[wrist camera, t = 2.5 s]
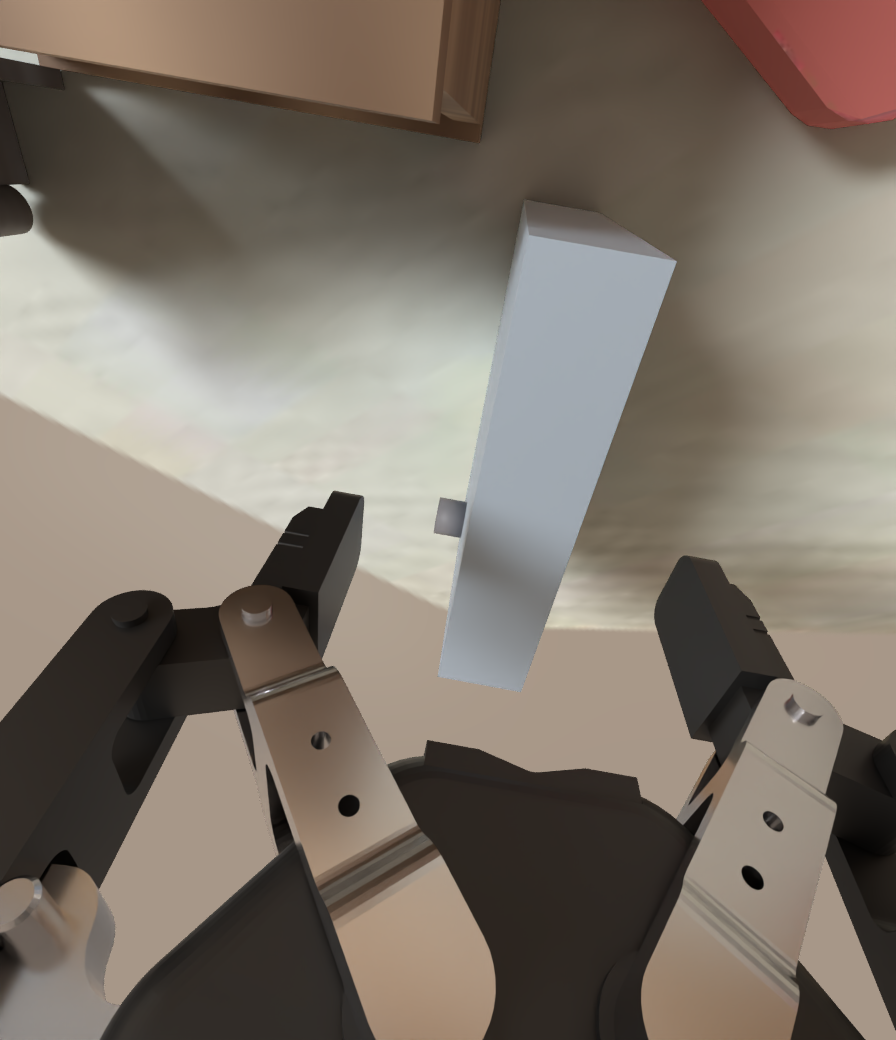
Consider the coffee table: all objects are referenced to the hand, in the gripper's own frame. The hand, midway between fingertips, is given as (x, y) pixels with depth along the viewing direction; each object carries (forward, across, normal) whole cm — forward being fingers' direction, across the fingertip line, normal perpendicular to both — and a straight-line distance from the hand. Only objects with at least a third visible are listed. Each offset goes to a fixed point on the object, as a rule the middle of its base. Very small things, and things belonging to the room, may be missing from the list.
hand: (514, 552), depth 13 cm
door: (+13, 0, 0) cm, 13 cm away
